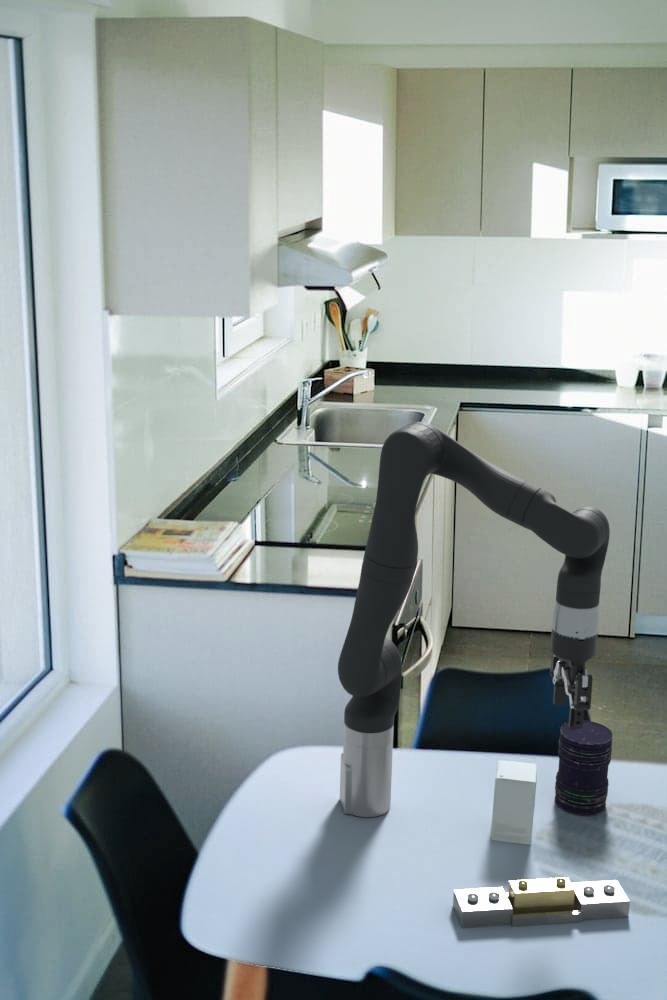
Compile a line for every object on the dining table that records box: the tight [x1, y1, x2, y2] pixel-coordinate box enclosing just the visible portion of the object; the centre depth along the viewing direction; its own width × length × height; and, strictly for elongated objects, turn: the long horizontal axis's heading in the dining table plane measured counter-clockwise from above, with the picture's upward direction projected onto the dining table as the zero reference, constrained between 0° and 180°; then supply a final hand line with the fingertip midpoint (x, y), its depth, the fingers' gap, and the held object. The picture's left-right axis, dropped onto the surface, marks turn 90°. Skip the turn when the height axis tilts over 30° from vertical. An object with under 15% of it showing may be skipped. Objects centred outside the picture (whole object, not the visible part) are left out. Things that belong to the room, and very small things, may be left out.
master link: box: [507, 876, 575, 915], centre depth 204 cm, size 10×4×6 cm, turn 98°
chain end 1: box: [452, 886, 548, 929], centre depth 203 cm, size 14×7×4 cm, turn 98°
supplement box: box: [490, 759, 538, 846], centre depth 226 cm, size 7×7×13 cm
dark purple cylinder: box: [554, 720, 614, 817], centre depth 236 cm, size 10×10×15 cm
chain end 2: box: [546, 879, 631, 925], centre depth 205 cm, size 14×7×4 cm, turn 98°
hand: (567, 716), depth 211 cm, fingers open, 8 cm apart
